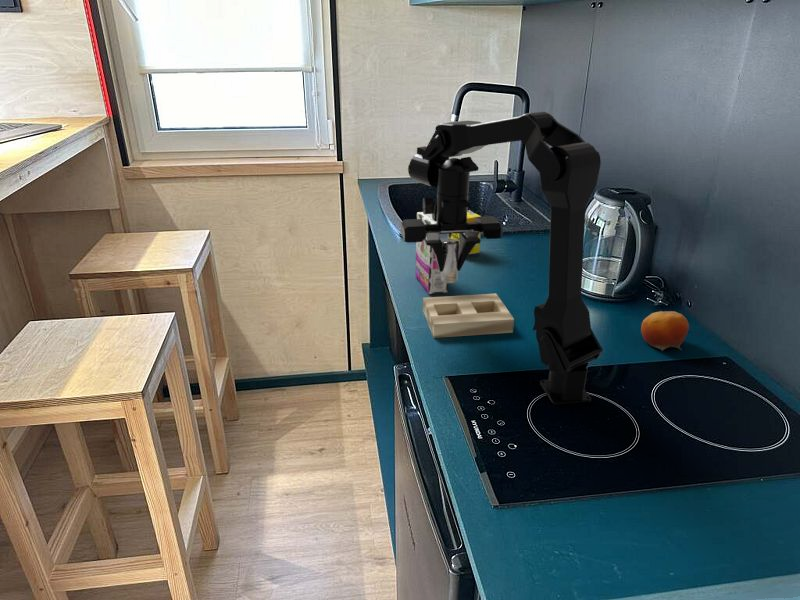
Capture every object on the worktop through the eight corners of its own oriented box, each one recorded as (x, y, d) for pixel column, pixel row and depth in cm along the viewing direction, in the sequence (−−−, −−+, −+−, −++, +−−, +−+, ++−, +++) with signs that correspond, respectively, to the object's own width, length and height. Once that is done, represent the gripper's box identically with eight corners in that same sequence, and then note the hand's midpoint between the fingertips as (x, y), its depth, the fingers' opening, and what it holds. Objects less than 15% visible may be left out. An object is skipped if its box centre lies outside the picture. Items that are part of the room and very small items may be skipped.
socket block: (512, 332, 112) (514, 319, 110) (433, 337, 110) (434, 324, 108) (495, 305, 122) (496, 293, 121) (422, 310, 120) (423, 297, 119)
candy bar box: (449, 293, 128) (452, 224, 121) (428, 295, 127) (430, 226, 120) (434, 274, 138) (436, 209, 131) (414, 276, 137) (415, 211, 130)
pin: (458, 282, 110) (460, 244, 107) (442, 283, 110) (444, 244, 106) (455, 276, 113) (456, 238, 109) (439, 277, 113) (440, 239, 109)
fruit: (665, 355, 101) (658, 311, 102) (637, 355, 109) (630, 314, 110) (703, 349, 103) (695, 306, 104) (672, 350, 111) (666, 310, 112)
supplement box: (448, 251, 152) (450, 212, 148) (467, 248, 155) (470, 209, 150) (460, 258, 148) (462, 218, 143) (479, 255, 150) (482, 215, 145)
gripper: (489, 180, 112) (484, 253, 119) (396, 183, 110) (396, 257, 116) (506, 195, 102) (500, 274, 109) (405, 198, 100) (404, 279, 106)
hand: (449, 270), depth 110 cm, fingers closed on pin, 3 cm apart
